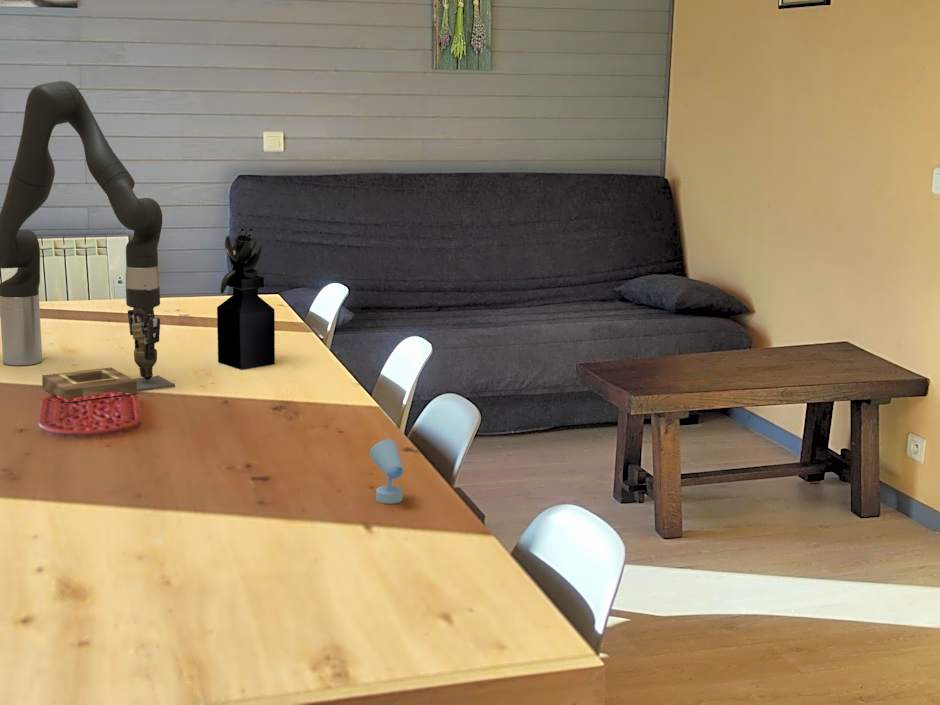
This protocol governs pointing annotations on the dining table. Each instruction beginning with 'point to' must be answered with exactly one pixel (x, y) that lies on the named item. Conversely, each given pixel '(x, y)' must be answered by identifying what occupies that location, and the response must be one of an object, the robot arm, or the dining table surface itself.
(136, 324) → the tan ridged rounded piece
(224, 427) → the dining table surface
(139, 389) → the mat
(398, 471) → the spotlight
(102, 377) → the socket block
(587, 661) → the dining table surface
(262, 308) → the vase
